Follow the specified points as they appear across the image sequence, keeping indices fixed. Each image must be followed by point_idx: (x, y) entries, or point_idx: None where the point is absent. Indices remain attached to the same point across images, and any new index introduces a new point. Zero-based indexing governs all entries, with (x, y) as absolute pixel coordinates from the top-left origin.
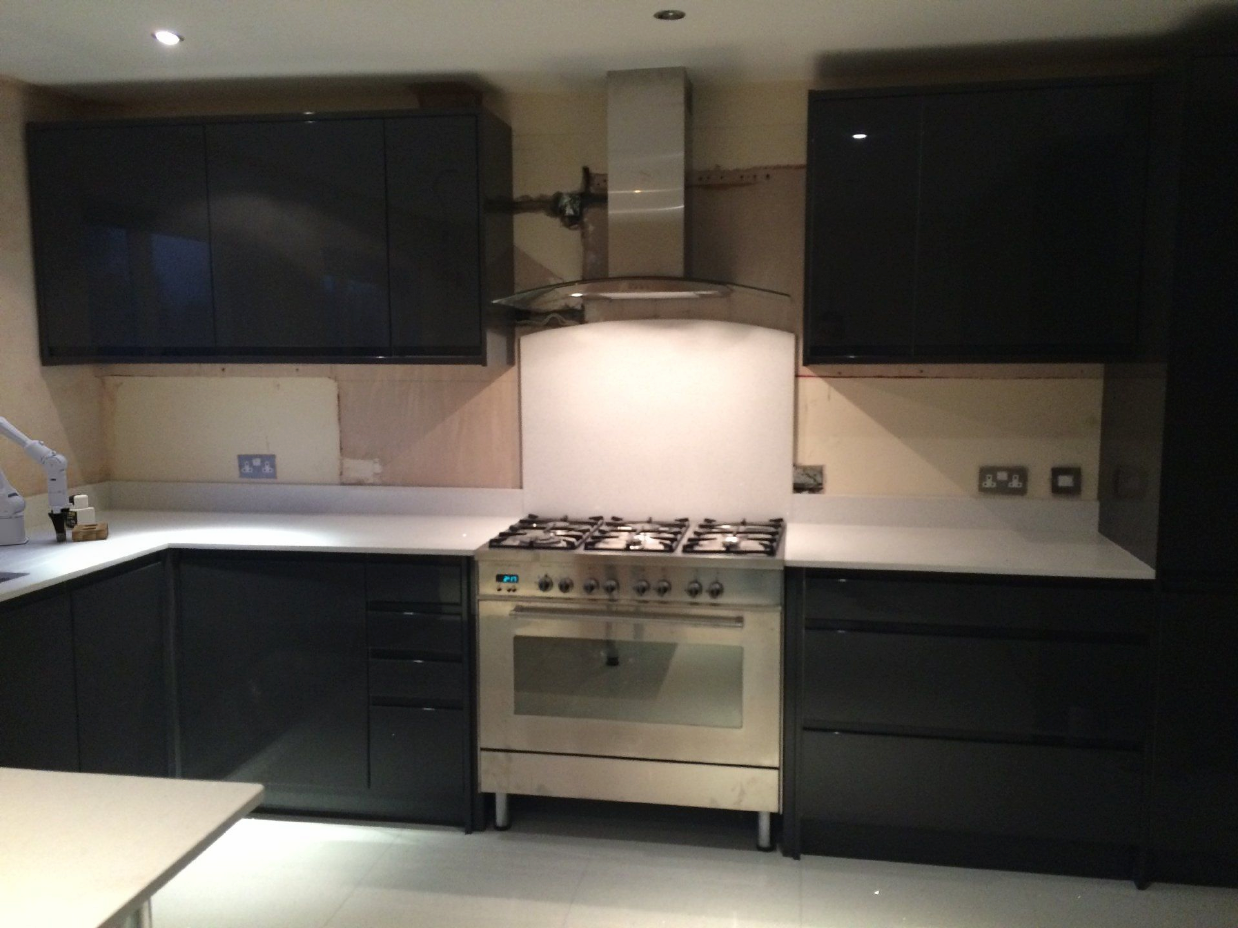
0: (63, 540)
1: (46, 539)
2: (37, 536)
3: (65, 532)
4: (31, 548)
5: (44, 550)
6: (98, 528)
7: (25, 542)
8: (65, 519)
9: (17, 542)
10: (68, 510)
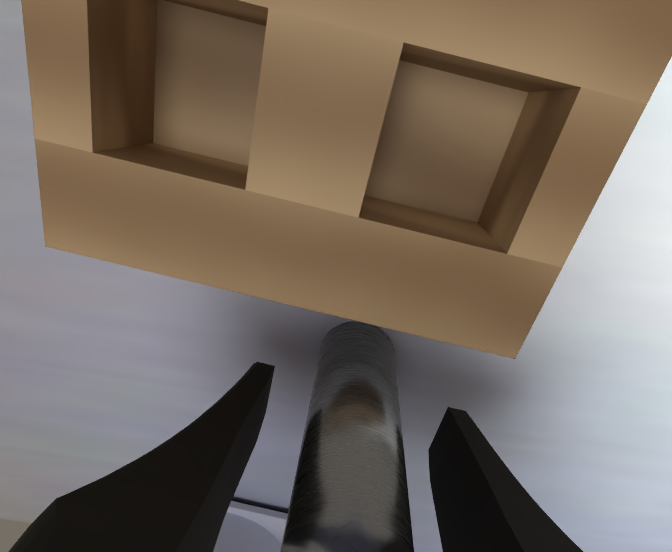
0: (392, 352)
1: (206, 410)
2: (46, 427)
3: (383, 374)
4: None
5: (667, 490)
6: (546, 31)
7: None
8: (235, 444)
9: None
10: (180, 550)
